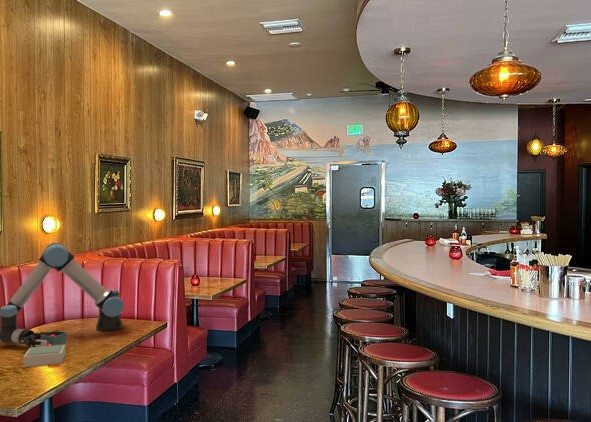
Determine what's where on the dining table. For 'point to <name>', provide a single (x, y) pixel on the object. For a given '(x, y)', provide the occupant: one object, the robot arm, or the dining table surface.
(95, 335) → the dining table surface
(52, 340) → the flower pot
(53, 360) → the grey box
